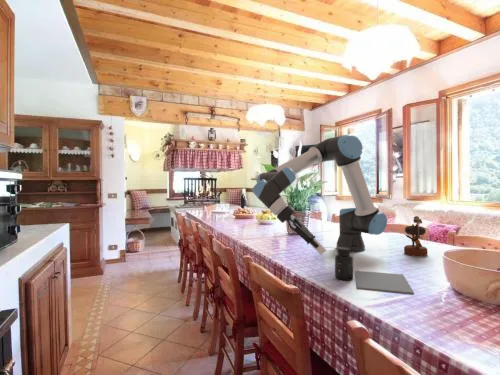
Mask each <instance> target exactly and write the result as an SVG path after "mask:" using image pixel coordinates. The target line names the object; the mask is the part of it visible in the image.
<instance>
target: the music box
mask: <svg viewBox="0 0 500 375" xmlns="http://www.w3.org/2000/svg"><path fill="white" fill-rule="evenodd" d="M419 224H423V221H422V219H421V218H420V216H418V215H415V216H414V217H413V223H412V224H411V225H406V227H405V228H404V232H405V233H406V234H405V236H406V237H407V238H408V239H410V240H411V243H412V244H407V245H404V247H403V253H404V254H405V255H406V256H407V255H408V256H411V257H421V258H422V257H427V256H428V248H427V247H426V246H423V244H422V243H421V241H420V239H421V236H423V235H425V234H426V228H425V227H424V226H420V225H419ZM410 235H411V236H410Z"/></svg>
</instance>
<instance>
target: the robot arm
mask: <svg viewBox="0 0 500 375" xmlns="http://www.w3.org/2000/svg"><path fill="white" fill-rule="evenodd" d="M363 148H364V146H363V143H362V141H361V140H360V138H359V137H357V135H354V134H343V135H338V136H334V137H328V138H326V139H324V140H322V141H320V142H318V143H317V144H315V145H313V146H310V147H309V149H308V150H307V151H306V152H304V153H301V154H299V155H298V156H296V157H293V158H292V159H290V160H288V161H286V162H284V163H282V164H281V165H278V166H276V167H273V168H272V169H270V170H269V171H267V172H262V173H259V174H258V175H257V177H256V184H255V185H254V186H253V187H252V193H253V194H254V195H255V197H256V198H257V199H258V200H259V201H260V202H261V203H262V204H263V205H264V206H265V207H266V208H267V209H268V210H269V213H271V214H273V215H274V216H276V219H277V220H278V221H280V223H285V222H287V223H288V225H289V228H290V229H291V230H292V231H294V232H295V233H296V234H297V235H298V236H299V237H301V239H303V240H304V241H305V242H306V245H310V246H312V248H314V250H315V251H316V252H317V253H318V254H319V255H320V256H322V255H323V254H324V253H325V252H326V251H327V249H326V248H325V247H324V246H323V245H322V244H321V243H320V242H319V241H318V240H317V238H316V235H314V234H313V233H312V232H311V231H310V230H309V229H308V228H307V227H306V226H305V224H304V223H303V222H302V221H301V219H300V218H298V217H297V216H295V215H293V214H294V213H295V211H296V210H295V209H294V208H293V207H292V205H291V204H290V205H289V202H287V201H286V200H285V198H284V197H282V196H281V195H280V194H281V193H283V192H284V191H285V190H286V189H287V188H288V187H289V186H291V185H292V184H293V183H294V182H295V181H296V179H297V177H296V175H298V174H299V173H301V172H303V171H304V170H306V169H308V168H310V167H312V166H314V165H321V163H324V162H325V163H326V162H330V161H335V162H336V163H335V164H336V165H337V167H339V168H341V170H342V173H343V176H344V179H345V181H346V184H347V186H348V190H349V192H350V195H351V198H352V200H353V204H354V206H355V207H348V208H341V209H340V210H339V215H338V219H339V236H338V238H337V241H336V249H337V248H338V247H348V248H350V252H362V251H365V250H366V246H365V245H366V244H365V241H364V240H363V237H362V233H365V234H369V235H375V236H378V235H381V234H382V233H384V232H385V230H386V227H387V225H388V218H387V215H386V214H385V213H384V212H381V211H380V210H379V207H378V205H377V204H375V203H374V202H373V199H372V197H371V193H370V191H369V188H368V185H367V183H366V179H365V176H364V173H363V171H362V167H361V165H360V161H361V158H362V157H361V155H362V154H363Z"/></svg>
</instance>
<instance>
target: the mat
mask: <svg viewBox="0 0 500 375" xmlns="http://www.w3.org/2000/svg"><path fill="white" fill-rule="evenodd" d="M354 274H355V280H356V281H355V282H356V289H357V290H367V291H377V292H378V291H379V292H389V293H396V294H397V293H398V294H399V293H400V294H410V295H415V292H414V290H413V288H412V287H411V285H410V284H409V281H408V280H407V279H406V277H405V275H404V274H402V273H391V272H378V271H365V270H363V271H361V270H355V272H354Z"/></svg>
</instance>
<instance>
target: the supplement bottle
mask: <svg viewBox="0 0 500 375" xmlns="http://www.w3.org/2000/svg"><path fill="white" fill-rule="evenodd" d="M336 250H337V252H336V254H335V256H334V277H335V279H336V280H338V281H340V280H342V281H341V282H351V281H353V279H354V257H353V255H351V252H352V251H350V248H348V247H338V248H337V247H336Z"/></svg>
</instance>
